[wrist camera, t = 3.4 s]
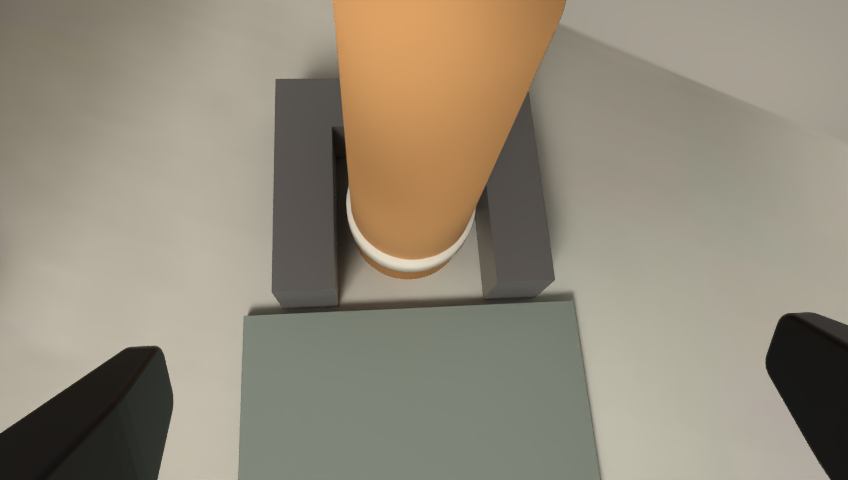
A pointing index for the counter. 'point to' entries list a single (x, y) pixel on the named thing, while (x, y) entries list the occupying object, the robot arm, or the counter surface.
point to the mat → (416, 395)
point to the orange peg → (429, 116)
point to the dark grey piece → (317, 205)
